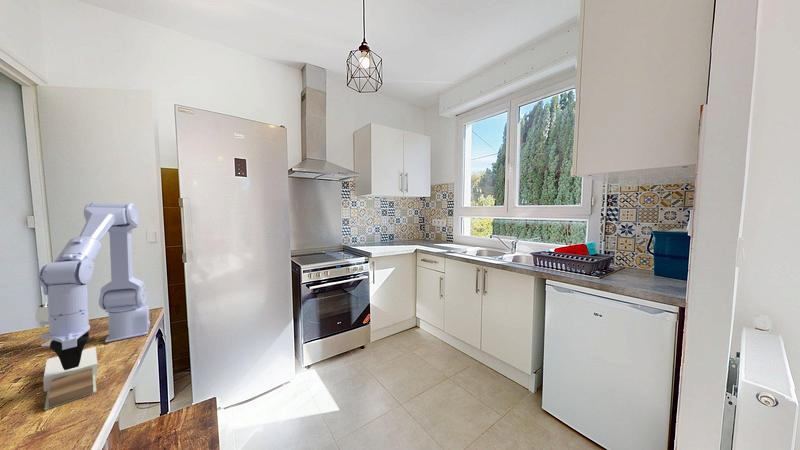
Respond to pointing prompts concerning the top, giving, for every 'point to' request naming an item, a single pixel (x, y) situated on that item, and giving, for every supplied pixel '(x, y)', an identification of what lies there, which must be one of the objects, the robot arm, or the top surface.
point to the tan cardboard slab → (70, 387)
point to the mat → (71, 400)
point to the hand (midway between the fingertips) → (71, 367)
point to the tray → (57, 371)
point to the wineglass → (43, 319)
